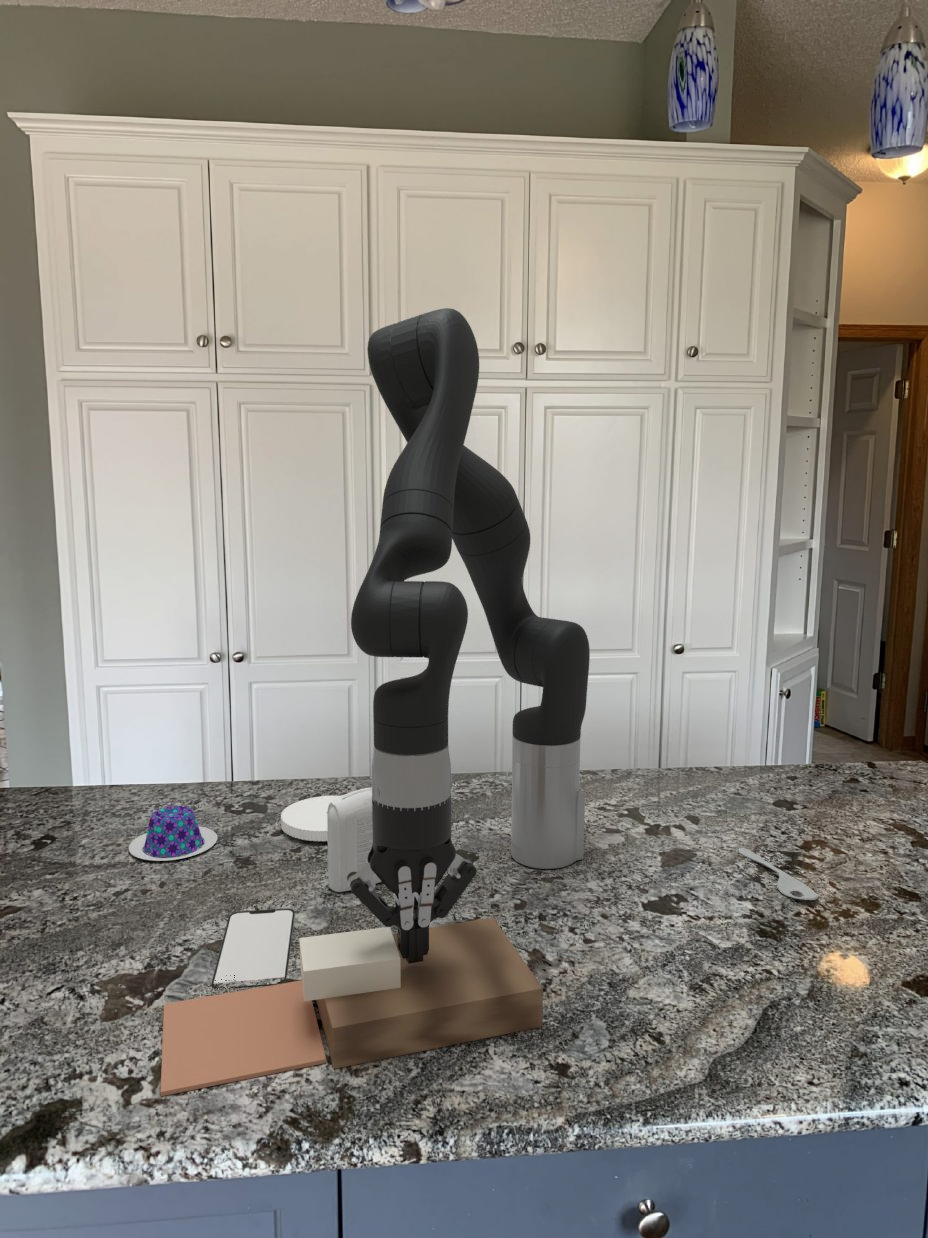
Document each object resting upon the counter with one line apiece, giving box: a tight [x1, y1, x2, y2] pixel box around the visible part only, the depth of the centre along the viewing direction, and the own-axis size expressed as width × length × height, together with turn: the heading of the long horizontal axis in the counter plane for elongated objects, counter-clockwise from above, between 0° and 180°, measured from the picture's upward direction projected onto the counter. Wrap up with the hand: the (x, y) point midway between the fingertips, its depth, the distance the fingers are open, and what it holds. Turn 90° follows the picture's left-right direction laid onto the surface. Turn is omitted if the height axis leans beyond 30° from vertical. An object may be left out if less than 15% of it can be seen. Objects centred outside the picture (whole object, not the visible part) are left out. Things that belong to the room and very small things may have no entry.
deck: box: [315, 917, 544, 1070], centre depth 86 cm, size 20×14×4 cm
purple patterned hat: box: [128, 805, 218, 862], centre depth 123 cm, size 12×12×5 cm
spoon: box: [738, 847, 819, 901], centre depth 116 cm, size 4×21×2 cm, turn 11°
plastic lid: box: [280, 795, 342, 842], centre depth 130 cm, size 14×14×2 cm
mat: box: [160, 979, 327, 1097], centre depth 81 cm, size 14×13×1 cm
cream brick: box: [298, 926, 401, 1001], centre depth 83 cm, size 9×6×3 cm, turn 104°
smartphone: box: [210, 908, 296, 991], centre depth 97 cm, size 8×1×16 cm
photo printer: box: [327, 786, 383, 893], centre depth 111 cm, size 10×4×12 cm, turn 123°
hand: (413, 958), depth 85 cm, fingers closed
